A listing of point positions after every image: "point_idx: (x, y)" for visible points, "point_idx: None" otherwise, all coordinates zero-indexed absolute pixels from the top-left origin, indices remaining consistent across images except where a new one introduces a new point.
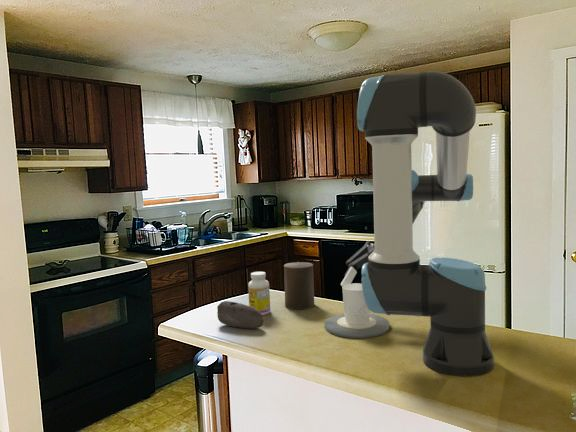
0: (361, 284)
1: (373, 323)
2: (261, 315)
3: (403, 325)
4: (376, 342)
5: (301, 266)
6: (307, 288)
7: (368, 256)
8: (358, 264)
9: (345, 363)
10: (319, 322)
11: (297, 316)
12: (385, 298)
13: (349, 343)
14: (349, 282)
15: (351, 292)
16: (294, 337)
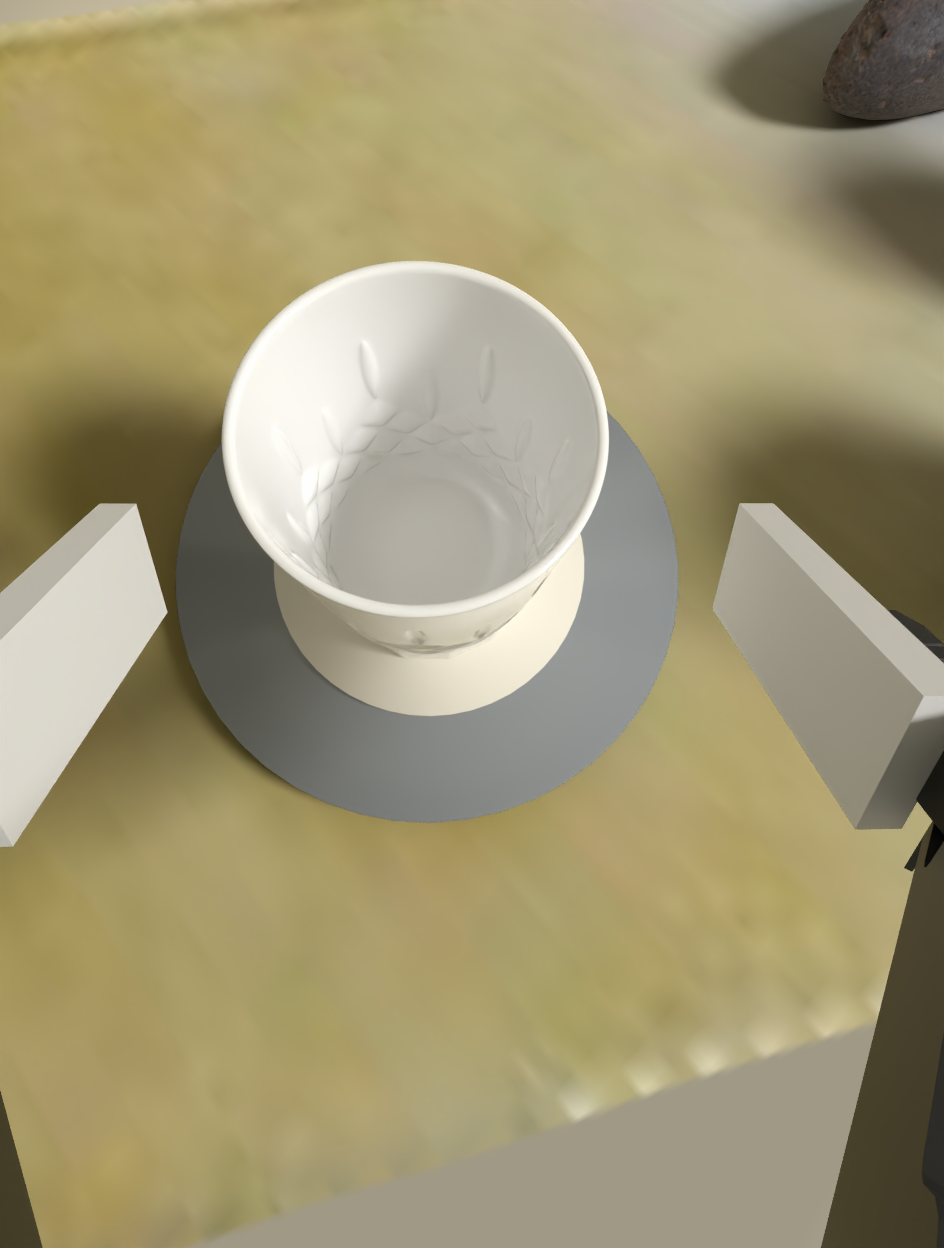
0: (482, 594)
1: (302, 616)
2: (873, 32)
3: (185, 854)
4: (128, 445)
5: None
6: None
7: (902, 1172)
8: (940, 867)
9: (73, 123)
10: (689, 453)
11: (904, 432)
12: None
13: (249, 323)
14: (755, 641)
15: (349, 293)
16: (567, 176)
